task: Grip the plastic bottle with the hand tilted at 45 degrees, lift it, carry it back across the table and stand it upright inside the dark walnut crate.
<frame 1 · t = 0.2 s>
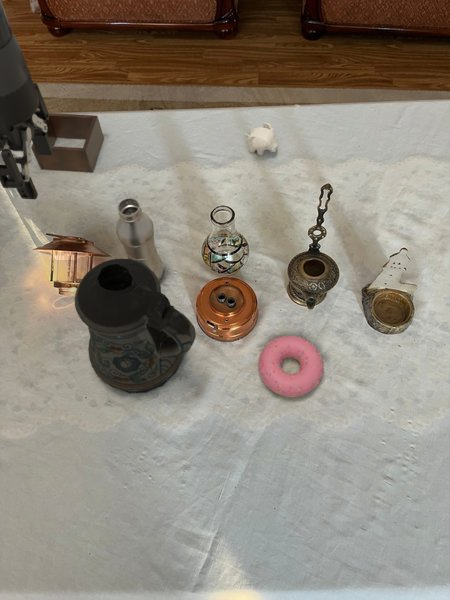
hand: (38, 174, 75), 29 cm above the table, tool pointing down, fingers open, 8 cm apart
crate: (75, 159, 117), on the table
elephant figurine: (260, 151, 117), on the table
doughnut: (289, 370, 90), on the table
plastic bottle: (148, 275, 101), on the table
dark ceramic jug: (148, 352, 93), on the table
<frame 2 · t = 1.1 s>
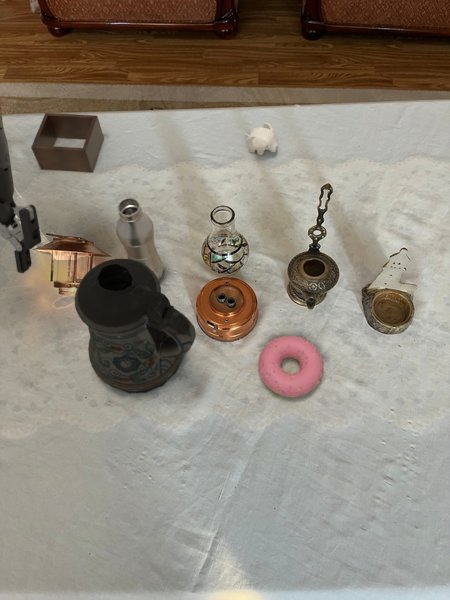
nothing on the table moved.
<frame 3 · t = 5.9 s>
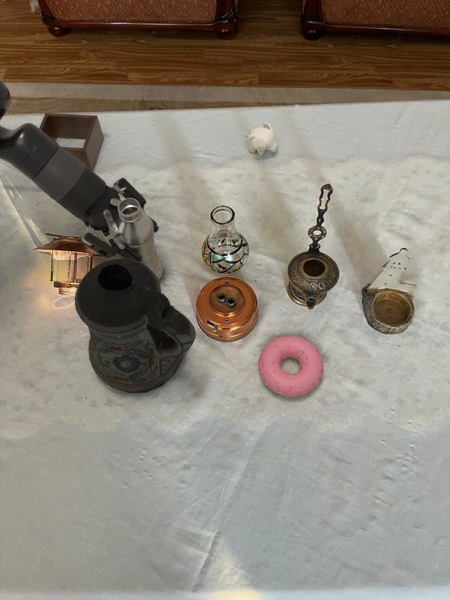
hand: (147, 245, 92), 10 cm above the table, tool tilted 45°, fingers closed on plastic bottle, 6 cm apart
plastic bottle: (148, 275, 101), on the table, touching gripper
everything else where it was.
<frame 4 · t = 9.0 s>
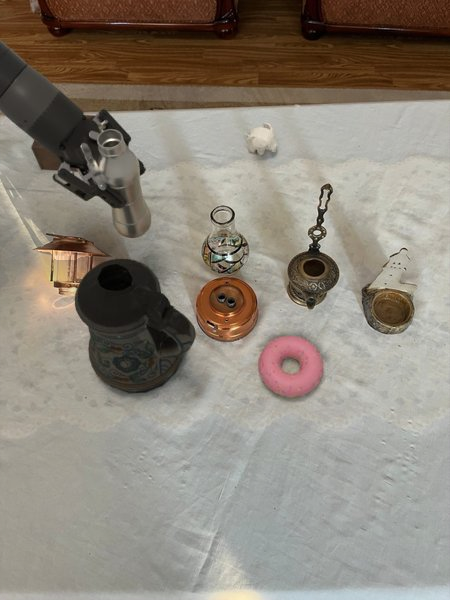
hand: (132, 188, 80), 24 cm above the table, tool tilted 45°, fingers closed on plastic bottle, 6 cm apart
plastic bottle: (134, 228, 90), point 13 cm above the table, touching gripper
everything else where it was.
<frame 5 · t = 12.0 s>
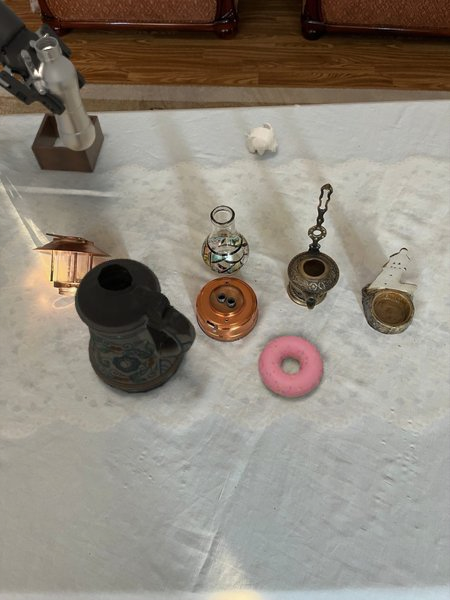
hand: (73, 98, 88), 26 cm above the table, tool tilted 45°, fingers closed on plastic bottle, 6 cm apart
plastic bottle: (81, 143, 97), point 16 cm above the table, touching gripper
everything else where it was.
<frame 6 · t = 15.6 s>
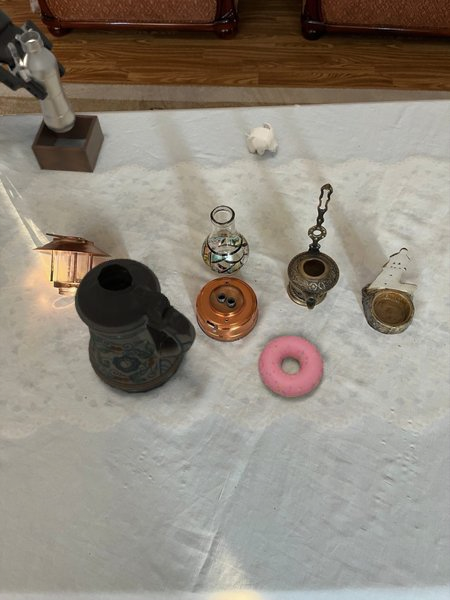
hand: (54, 85, 100), 19 cm above the table, tool tilted 45°, fingers closed on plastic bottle, 6 cm apart
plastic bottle: (63, 126, 110), point 9 cm above the table, touching gripper
everything else where it was.
when the fingers open (11 cm above the table, at t = 18.4 s): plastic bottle stays where it is, resting on crate.
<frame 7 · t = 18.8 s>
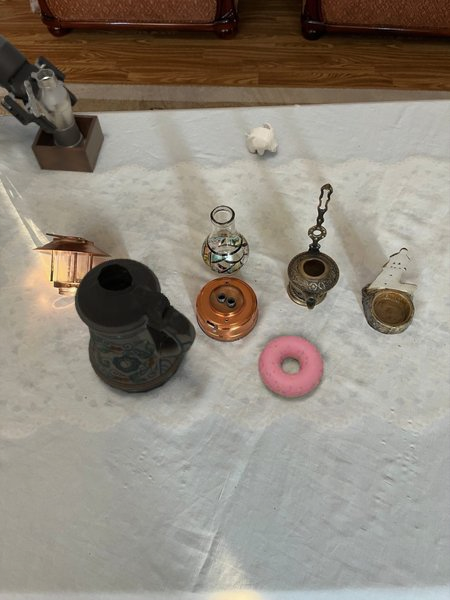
hand: (65, 117, 106), 12 cm above the table, tool tilted 45°, fingers open, 8 cm apart
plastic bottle: (74, 154, 117), point 1 cm above the table, touching crate
everything else where it was.
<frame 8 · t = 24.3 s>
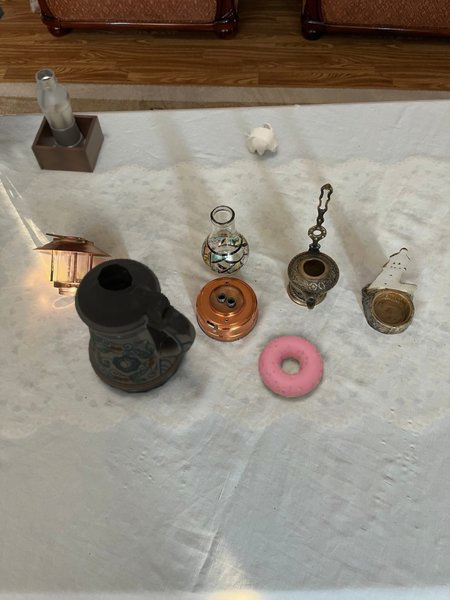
nothing on the table moved.
at the end: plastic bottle inside the target area in the crate (0.7 cm from its centre), point 0.8 cm above the crate's base; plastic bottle tilted 0°; the gripper is holding nothing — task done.
